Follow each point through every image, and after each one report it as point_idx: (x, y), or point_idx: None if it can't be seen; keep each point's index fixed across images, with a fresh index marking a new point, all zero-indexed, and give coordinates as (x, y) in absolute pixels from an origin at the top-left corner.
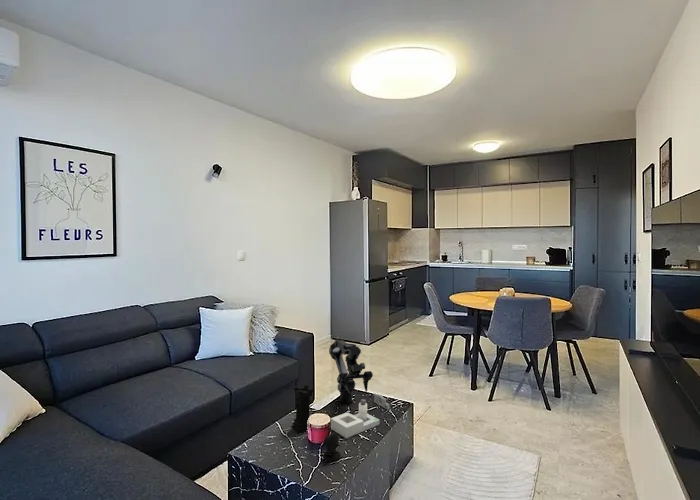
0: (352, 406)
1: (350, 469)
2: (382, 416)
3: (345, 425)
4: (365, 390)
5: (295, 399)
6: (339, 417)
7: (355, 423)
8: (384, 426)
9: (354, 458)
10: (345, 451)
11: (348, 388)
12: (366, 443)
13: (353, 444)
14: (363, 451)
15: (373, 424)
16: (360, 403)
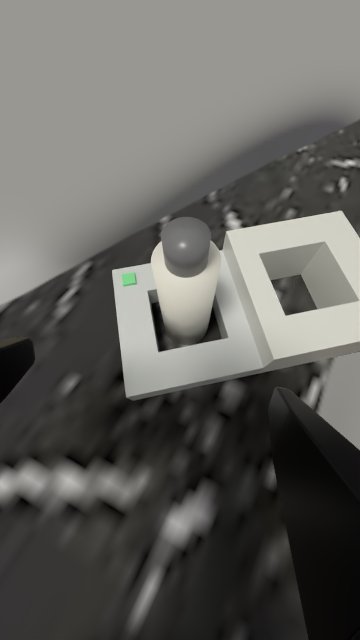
0: (103, 605)
1: (352, 127)
2: (41, 347)
3: (341, 229)
4: (20, 376)
5: None
6: (353, 315)
7: (280, 227)
8: (109, 264)
9: (325, 154)
10: (343, 187)
11: (328, 430)
12: (251, 198)
13: (301, 208)
14: (282, 170)
15: None
16: (201, 274)
